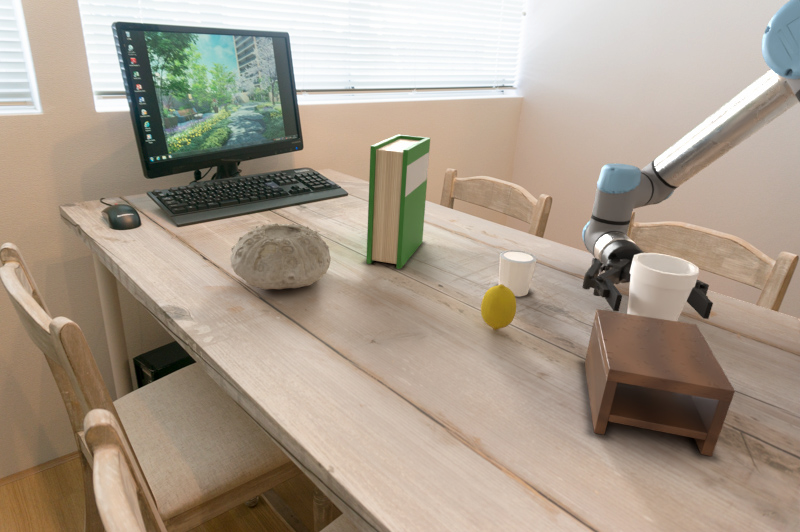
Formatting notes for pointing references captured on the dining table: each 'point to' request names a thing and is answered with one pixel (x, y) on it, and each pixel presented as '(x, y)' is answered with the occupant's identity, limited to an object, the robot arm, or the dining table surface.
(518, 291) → the white jar candle
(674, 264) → the foam cup
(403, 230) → the hardback book
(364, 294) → the dining table surface
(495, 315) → the lemon
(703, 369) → the shelf
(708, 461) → the dining table surface
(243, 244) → the decorative shell
